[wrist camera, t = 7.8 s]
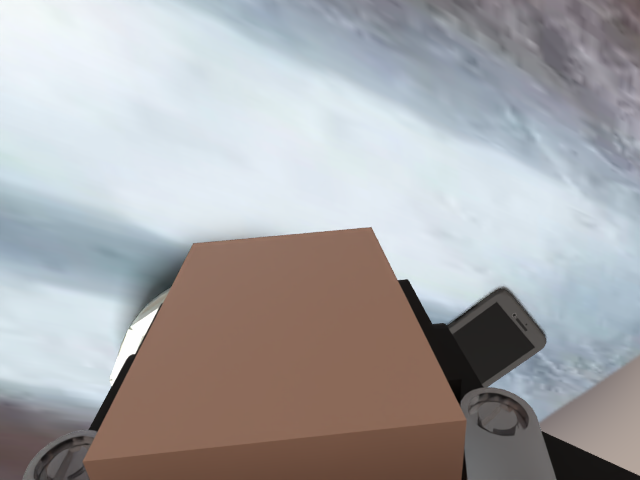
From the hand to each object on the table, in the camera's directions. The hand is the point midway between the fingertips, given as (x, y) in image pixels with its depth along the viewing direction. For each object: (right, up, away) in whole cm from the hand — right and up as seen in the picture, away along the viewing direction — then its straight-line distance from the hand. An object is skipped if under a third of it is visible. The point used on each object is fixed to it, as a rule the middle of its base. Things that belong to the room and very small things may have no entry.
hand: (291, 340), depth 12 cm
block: (0, +1, +1) cm, 2 cm away
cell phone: (+12, -7, +25) cm, 28 cm away
